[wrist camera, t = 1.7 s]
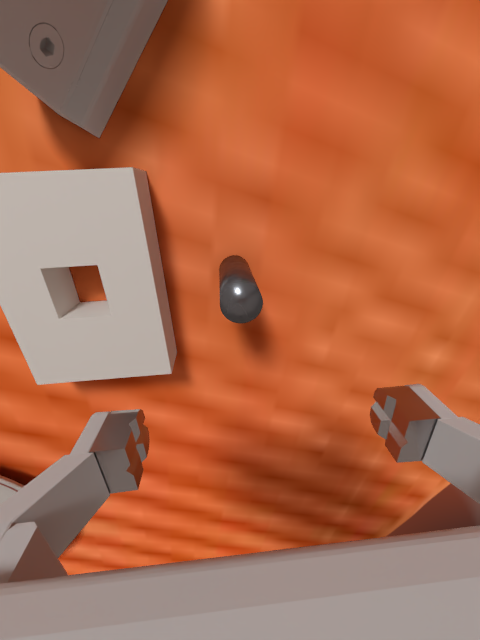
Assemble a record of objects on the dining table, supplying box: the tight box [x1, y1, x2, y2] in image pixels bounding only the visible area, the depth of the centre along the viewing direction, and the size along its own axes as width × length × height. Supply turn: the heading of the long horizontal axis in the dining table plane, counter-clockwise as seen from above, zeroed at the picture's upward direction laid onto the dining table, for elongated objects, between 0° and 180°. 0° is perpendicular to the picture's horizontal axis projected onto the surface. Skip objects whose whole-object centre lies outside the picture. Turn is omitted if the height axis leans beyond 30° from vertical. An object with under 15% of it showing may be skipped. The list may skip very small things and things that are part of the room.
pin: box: [219, 255, 263, 323], centre depth 23 cm, size 3×3×9 cm
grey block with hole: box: [0, 167, 177, 385], centre depth 24 cm, size 13×18×4 cm
